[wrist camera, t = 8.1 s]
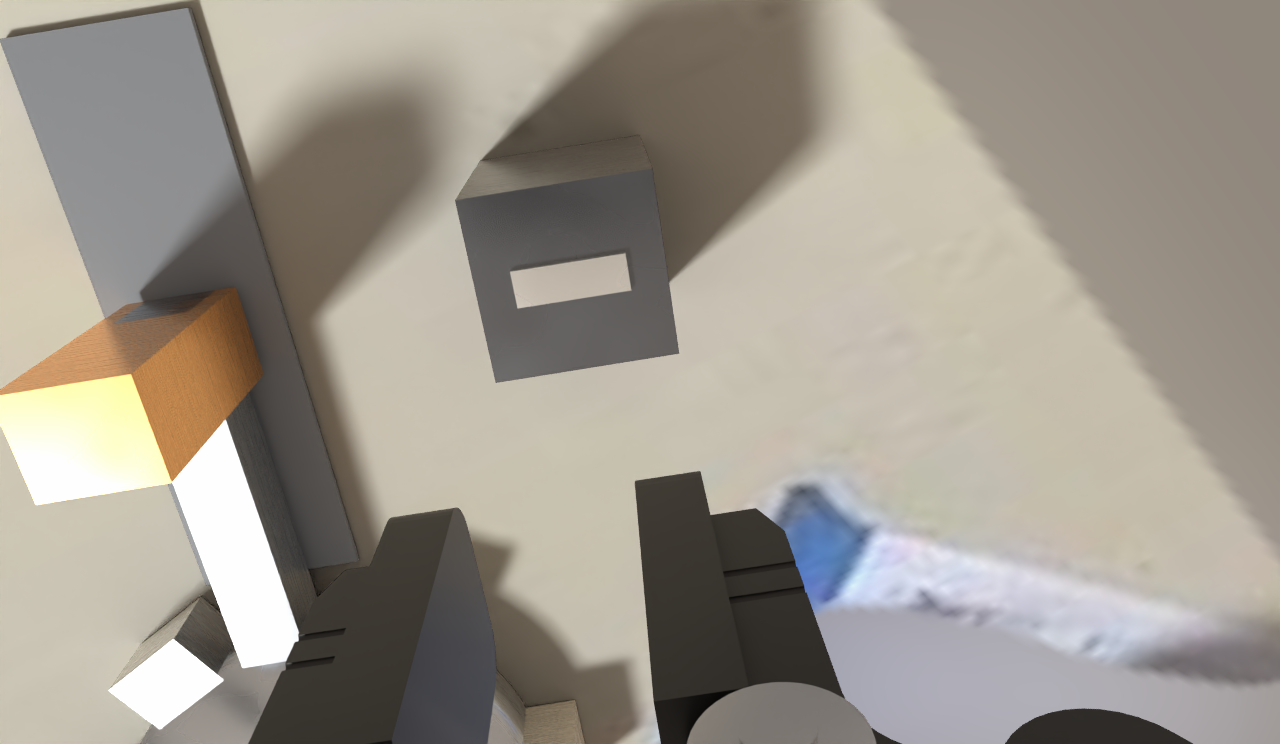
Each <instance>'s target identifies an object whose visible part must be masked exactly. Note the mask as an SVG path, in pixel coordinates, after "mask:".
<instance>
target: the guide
mask: <svg viewBox="0 0 1280 744" xmlns="http://www.w3.org/2000/svg"><path fill="white" fill-rule="evenodd" d="M0 42H1V45H2V48H3V50H4V53H5V56H6V58H7V61H8V64H9V66H10V69H11V72H12V74H13V77H14V79H15V82H16V85H17V87H18V90H19V93H20V95H21V98H22V101H23V103H24V106H25V108H26V111H27V114H28V116H29V119H30V122H31V124H32V127H33V130H34V132H35V135H36V138H37V140H38V143H39V145H40V148H41V151H42V153H43V156H44V159H45V161H46V164H47V167H48V169H49V172H50V175H51V177H52V180H53V182H54V185H55V188H56V190H57V193H58V196H59V198H60V201H61V204H62V206H63V209H64V211H65V214H66V217H67V219H68V222H69V225H70V227H71V230H72V233H73V235H74V238H75V241H76V243H77V246H78V248H79V251H80V254H81V256H82V259H83V262H84V264H85V267H86V270H87V272H88V275H89V277H90V280H91V283H92V285H93V288H94V291H95V293H96V296H97V299H98V301H99V304H100V307H101V309H102V312H103V314H104V317H105V318H107V317H108V316H110V315H111V314H113V313H114V312H116V311H117V310H119V309H120V308H122V307H123V306H125V305H126V304H132V303H138V302H144V301H150V300H157V299H163V298H169V297H175V296H181V295H187V294H193V293H199V292H206V291H212V290H218V289H224V288H230V287H236V289H237V293H238V296H239V299H240V302H241V305H242V308H243V311H244V314H245V317H246V320H247V324H248V327H249V330H250V333H251V336H252V339H253V342H254V345H255V348H256V352H257V355H258V358H259V361H260V364H261V367H262V370H263V373H264V375H263V376H262V377H261V378H260V379H259V380H258V382H257V383H256V384H255V385H254V386H253V388H252V389H251V390H250V394H251V397H252V400H253V403H254V406H255V409H256V413H257V416H258V419H259V422H260V425H261V428H262V431H263V434H264V437H265V440H266V443H267V446H268V449H269V452H270V455H271V458H272V461H273V464H274V467H275V470H276V473H277V476H278V479H279V482H280V485H281V488H282V491H283V494H284V497H285V500H286V503H287V506H288V509H289V513H290V516H291V519H292V522H293V525H294V528H295V531H296V534H297V537H298V540H299V543H300V546H301V549H302V552H303V555H304V558H305V561H306V564H307V567H308V569H313V568H319V567H326V566H332V565H338V564H344V563H351V562H357V561H358V559H359V556H358V553H357V549H356V546H355V543H354V540H353V536H352V533H351V530H350V527H349V523H348V520H347V517H346V513H345V510H344V507H343V504H342V500H341V497H340V494H339V491H338V487H337V484H336V481H335V477H334V474H333V471H332V468H331V464H330V461H329V458H328V455H327V451H326V448H325V445H324V441H323V438H322V435H321V432H320V428H319V425H318V422H317V419H316V415H315V412H314V409H313V405H312V402H311V399H310V396H309V392H308V389H307V386H306V383H305V379H304V376H303V373H302V369H301V366H300V363H299V360H298V356H297V353H296V350H295V347H294V343H293V340H292V337H291V333H290V330H289V327H288V324H287V320H286V317H285V314H284V311H283V307H282V304H281V301H280V297H279V294H278V291H277V288H276V284H275V281H274V278H273V275H272V271H271V268H270V265H269V261H268V258H267V255H266V252H265V248H264V245H263V242H262V238H261V235H260V232H259V229H258V225H257V222H256V219H255V216H254V212H253V209H252V206H251V202H250V199H249V196H248V193H247V189H246V186H245V183H244V180H243V176H242V173H241V170H240V166H239V163H238V160H237V157H236V153H235V150H234V147H233V144H232V140H231V137H230V134H229V130H228V127H227V124H226V121H225V117H224V114H223V111H222V108H221V104H220V101H219V98H218V94H217V91H216V88H215V85H214V81H213V78H212V75H211V72H210V68H209V65H208V62H207V58H206V55H205V52H204V49H203V45H202V42H201V39H200V36H199V32H198V29H197V26H196V22H195V19H194V16H193V13H192V9H191V8H183V9H177V10H171V11H165V12H159V13H153V14H147V15H141V16H135V17H129V18H123V19H117V20H111V21H105V22H99V23H93V24H87V25H81V26H75V27H69V28H63V29H57V30H51V31H45V32H39V33H33V34H27V35H21V36H15V37H9V38H3V39H0ZM168 486H169V489H170V491H171V494H172V497H173V499H174V502H175V505H176V507H177V510H178V512H179V515H180V518H181V520H182V523H183V526H184V528H185V531H186V534H187V536H188V539H189V542H190V544H191V547H192V549H193V552H194V555H195V557H196V560H197V563H198V565H199V568H200V571H201V573H202V576H203V578H204V581H205V584H206V586H207V585H211V583H210V581H209V578H208V575H207V573H206V570H205V567H204V565H203V562H202V559H201V557H200V554H199V552H198V549H197V546H196V544H195V541H194V538H193V536H192V533H191V530H190V528H189V525H188V522H187V520H186V517H185V514H184V512H183V509H182V506H181V504H180V501H179V498H178V496H177V493H176V490H175V488H174V485H173V482H172V483H168Z"/></svg>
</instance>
